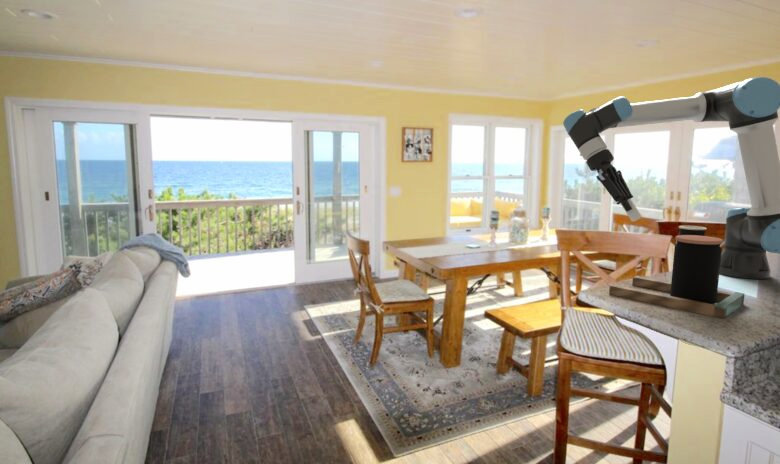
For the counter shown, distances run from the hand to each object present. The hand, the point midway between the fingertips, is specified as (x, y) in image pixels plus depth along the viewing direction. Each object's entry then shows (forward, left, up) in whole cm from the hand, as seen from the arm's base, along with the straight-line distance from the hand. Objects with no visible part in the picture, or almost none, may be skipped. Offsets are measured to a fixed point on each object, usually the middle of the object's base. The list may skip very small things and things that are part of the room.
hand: (637, 219), depth 136 cm
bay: (-11, +8, -21) cm, 25 cm away
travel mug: (-15, -17, -21) cm, 31 cm away
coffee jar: (-15, +8, -21) cm, 28 cm away
